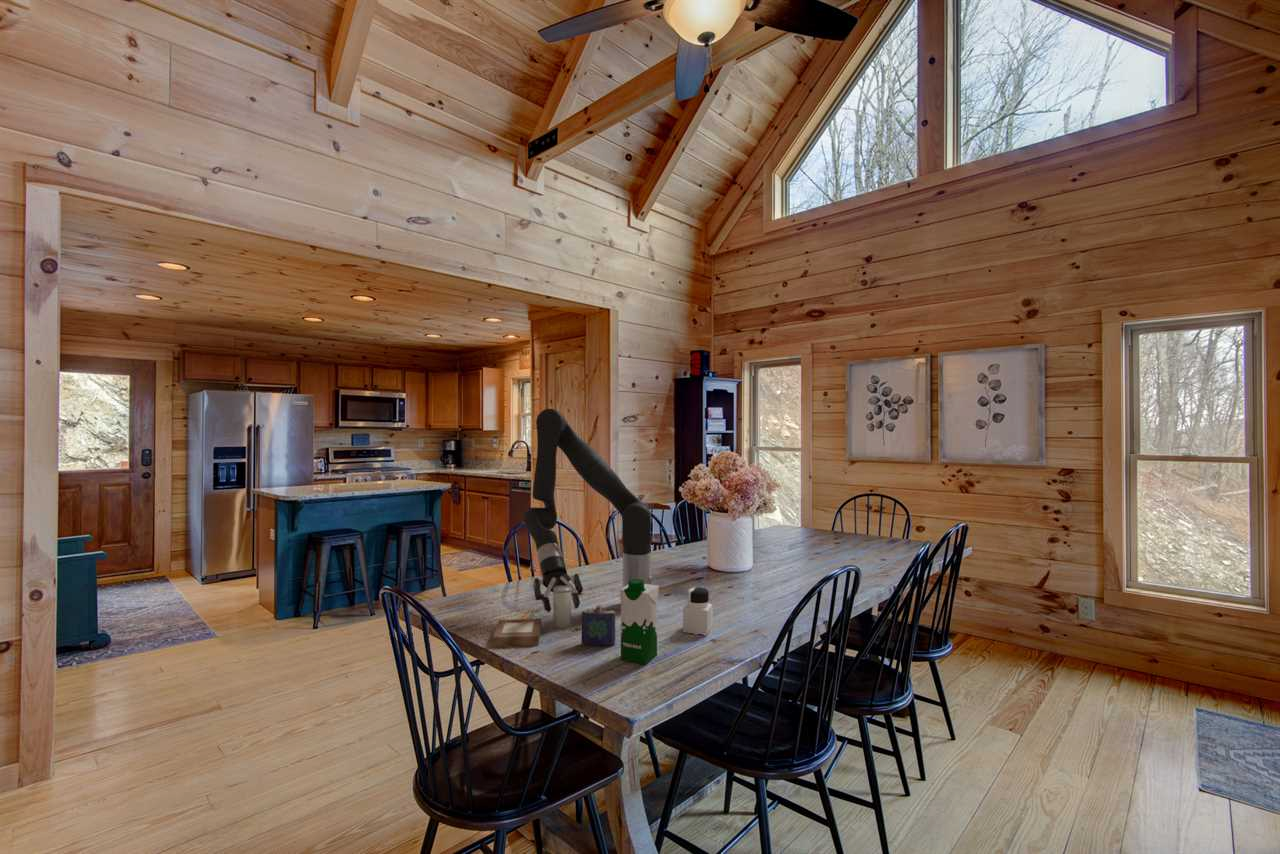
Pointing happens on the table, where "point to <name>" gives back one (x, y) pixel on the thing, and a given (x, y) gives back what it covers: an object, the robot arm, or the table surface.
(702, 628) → the medicine bottle
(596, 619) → the flask
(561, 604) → the canister
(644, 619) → the milk carton
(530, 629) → the pedestal
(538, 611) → the table surface
